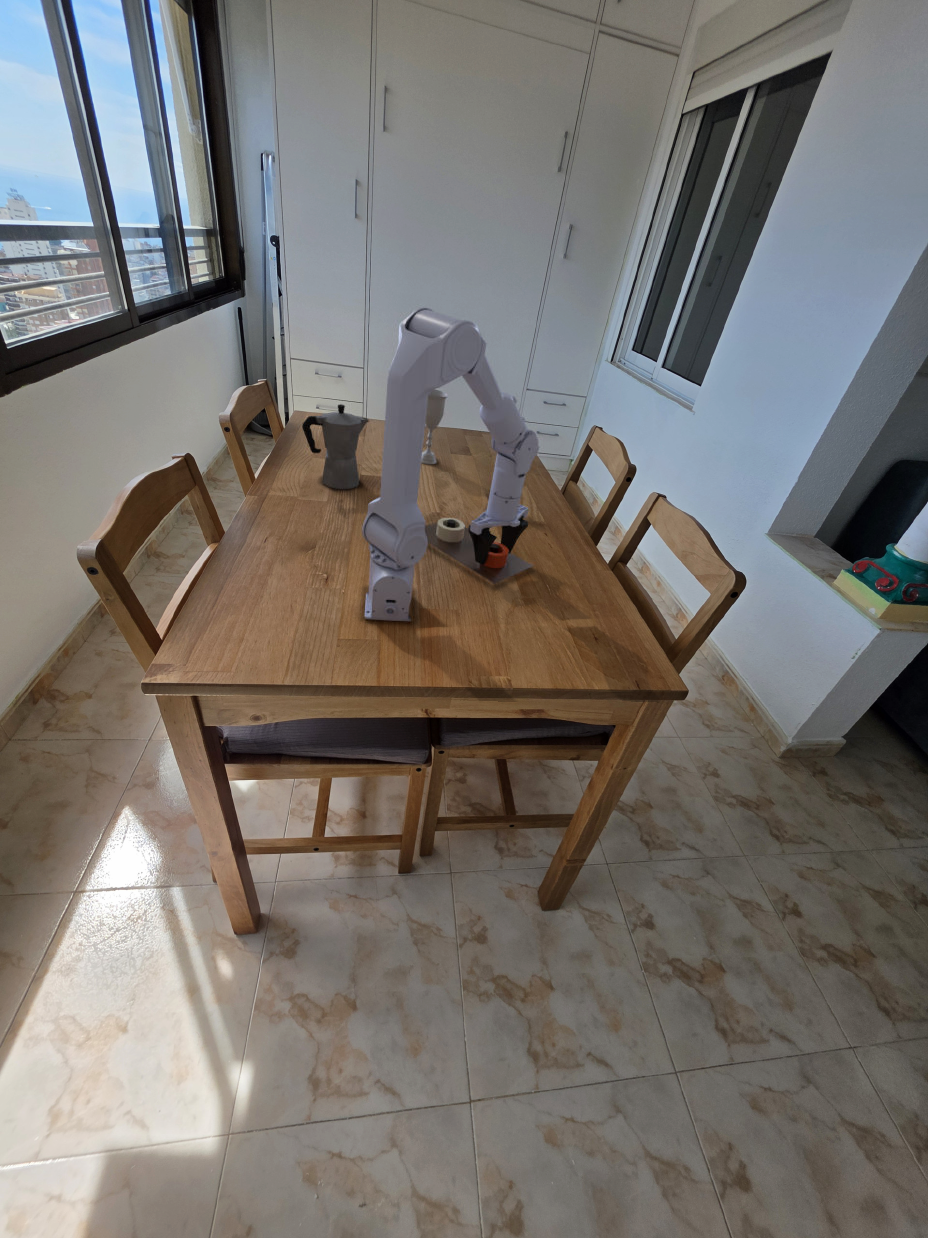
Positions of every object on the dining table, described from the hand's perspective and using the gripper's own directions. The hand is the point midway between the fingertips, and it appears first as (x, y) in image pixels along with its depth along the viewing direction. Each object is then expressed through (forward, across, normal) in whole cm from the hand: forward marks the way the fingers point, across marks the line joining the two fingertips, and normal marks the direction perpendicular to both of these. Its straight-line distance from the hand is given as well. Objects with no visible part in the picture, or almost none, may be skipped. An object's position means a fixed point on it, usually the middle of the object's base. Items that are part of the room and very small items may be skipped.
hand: (492, 556), depth 105 cm
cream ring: (+1, 0, +12) cm, 12 cm away
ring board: (+2, 0, +6) cm, 6 cm away
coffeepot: (+2, -3, +47) cm, 47 cm away
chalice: (+2, +28, +49) cm, 56 cm away
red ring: (+1, 0, 0) cm, 1 cm away
